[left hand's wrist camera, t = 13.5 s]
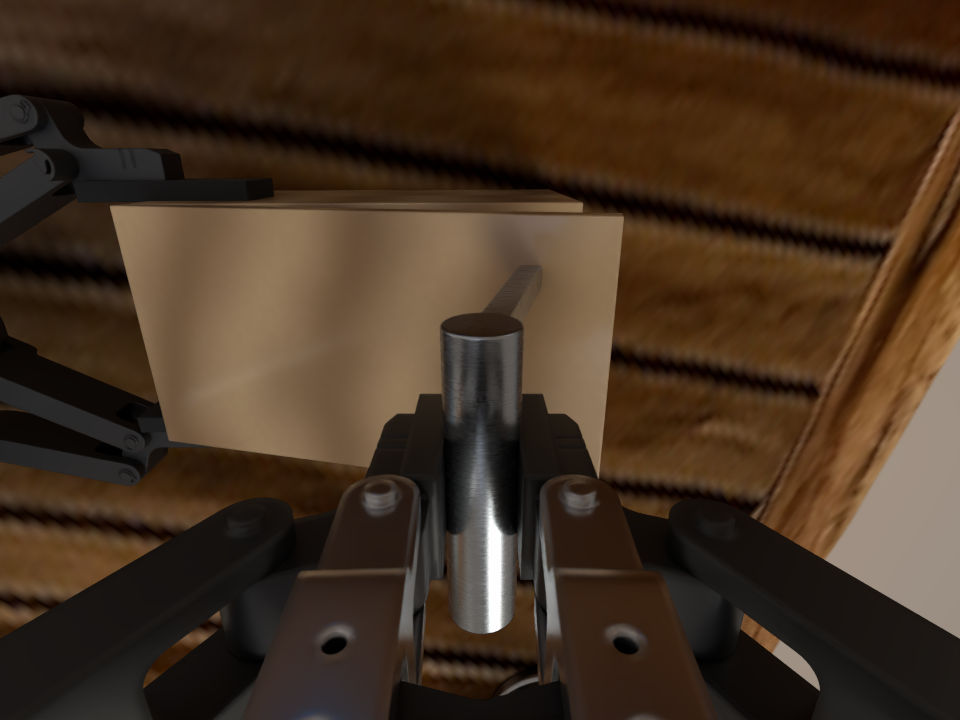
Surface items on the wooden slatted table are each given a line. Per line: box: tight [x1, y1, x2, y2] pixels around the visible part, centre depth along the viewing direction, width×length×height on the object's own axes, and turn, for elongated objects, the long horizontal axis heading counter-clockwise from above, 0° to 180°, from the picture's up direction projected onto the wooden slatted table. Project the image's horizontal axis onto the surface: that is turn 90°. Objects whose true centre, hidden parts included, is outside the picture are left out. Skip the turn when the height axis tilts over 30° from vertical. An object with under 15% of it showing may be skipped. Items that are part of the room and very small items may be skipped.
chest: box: [130, 190, 583, 212], centre depth 24 cm, size 16×9×9 cm, turn 90°
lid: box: [110, 204, 624, 634], centre depth 15 cm, size 17×9×8 cm, turn 90°
